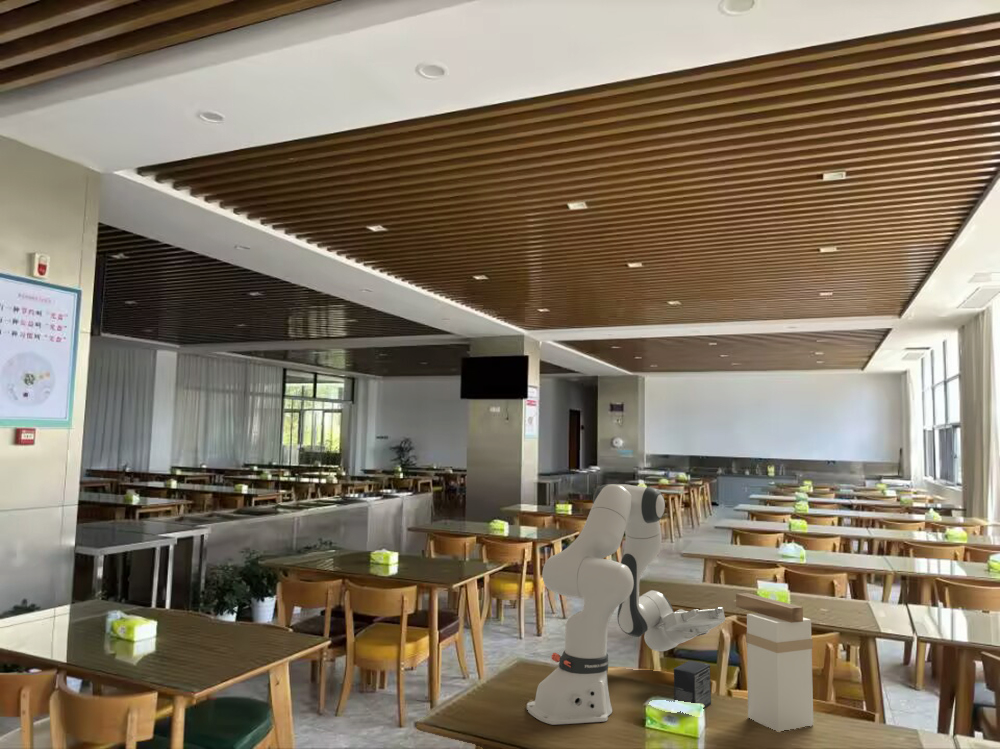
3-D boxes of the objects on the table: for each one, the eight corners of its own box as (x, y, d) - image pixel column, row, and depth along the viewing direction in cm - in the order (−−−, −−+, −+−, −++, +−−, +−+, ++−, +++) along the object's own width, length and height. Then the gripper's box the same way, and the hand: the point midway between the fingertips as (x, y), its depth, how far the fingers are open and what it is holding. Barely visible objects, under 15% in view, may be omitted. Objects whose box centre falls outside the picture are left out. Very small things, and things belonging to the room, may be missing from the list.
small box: (689, 698, 191) (689, 659, 192) (711, 704, 187) (711, 664, 188) (672, 708, 183) (672, 667, 184) (695, 714, 179) (695, 672, 180)
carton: (778, 732, 168) (776, 623, 171) (747, 717, 178) (746, 614, 181) (814, 726, 173) (811, 619, 177) (782, 711, 183) (780, 611, 186)
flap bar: (791, 622, 172) (791, 608, 173) (736, 606, 190) (736, 593, 190) (803, 621, 174) (802, 607, 175) (747, 605, 191) (746, 592, 192)
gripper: (651, 617, 209) (677, 602, 199) (703, 613, 218) (731, 598, 208) (658, 639, 205) (685, 624, 195) (710, 633, 214) (739, 619, 204)
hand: (709, 610), depth 202 cm, fingers open, 8 cm apart
